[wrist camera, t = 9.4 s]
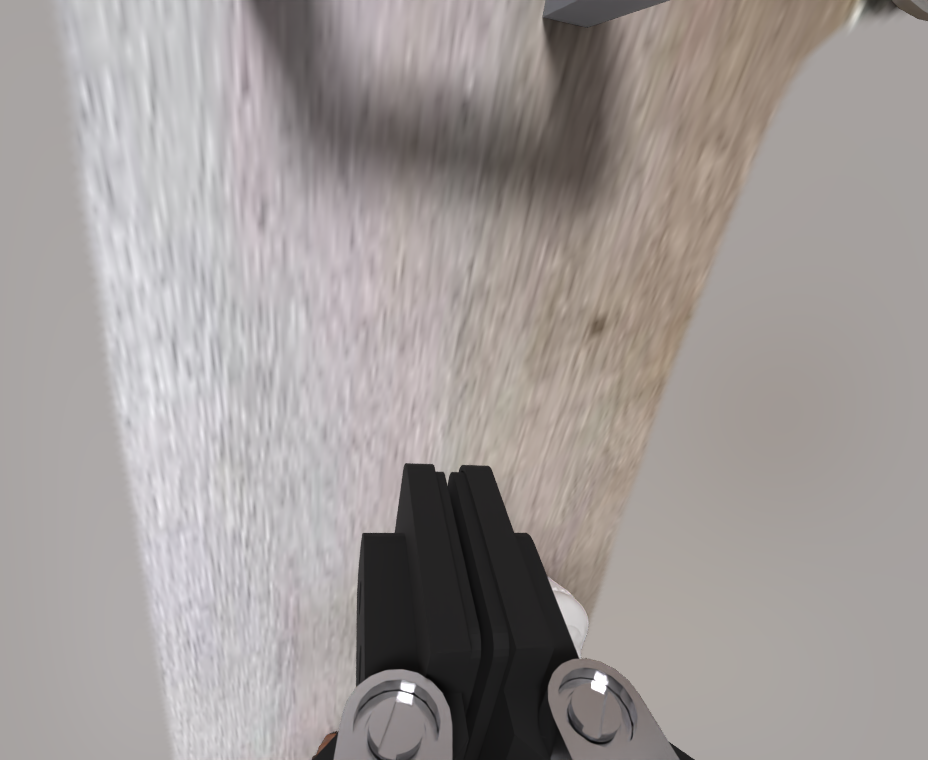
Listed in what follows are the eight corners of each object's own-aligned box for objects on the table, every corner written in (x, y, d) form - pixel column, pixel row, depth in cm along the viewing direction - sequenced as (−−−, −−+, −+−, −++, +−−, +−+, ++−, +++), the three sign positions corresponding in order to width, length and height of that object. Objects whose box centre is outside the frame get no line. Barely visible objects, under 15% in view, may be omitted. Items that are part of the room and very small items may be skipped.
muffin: (540, 624, 40) (573, 719, 34) (470, 607, 37) (492, 705, 31) (585, 567, 38) (629, 657, 31) (514, 546, 35) (547, 638, 29)
